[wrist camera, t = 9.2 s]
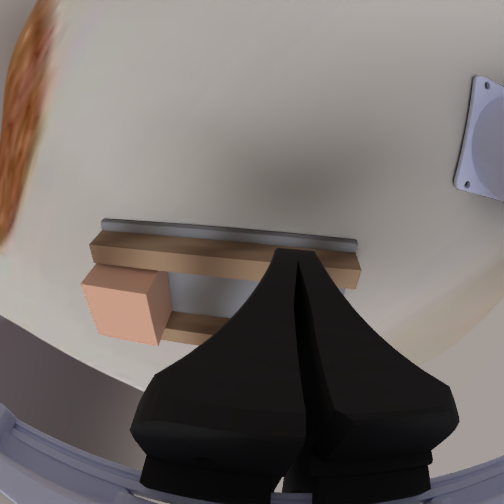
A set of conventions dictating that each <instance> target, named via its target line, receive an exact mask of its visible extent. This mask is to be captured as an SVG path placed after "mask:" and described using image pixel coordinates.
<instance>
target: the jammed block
mask: <svg viewBox="0 0 504 504" xmlns="http://www.w3.org/2000/svg"><path fill="white" fill-rule="evenodd" d="M81 286H82V289H83V292H84V295H85V298H86V300H87V303H88V306H89V309H90V311H91V314H92V317H93V319H94V322H95V324H96V327H97V329H98V332H99V334H101V335H105V336H110V337H114V338H119V339H123V340H128V341H133V342H138V343H143V344H149V345H154V346H158V345H159V343H160V340H161V337H162V335H163V332H164V330H165V327H166V325H167V322H168V319H169V317H170V314H171V312H172V302H171V296H170V289H169V282H168V274H167V272H166V271H158V270H149V269H141V268H133V267H125V266H117V265H109V264H101V263H96V265H95V266H94V267H93V268H92V270H91V271H90V272H89V274H88V275H87V276H86V278H85V279H84V280H83V282H82V283H81Z"/></svg>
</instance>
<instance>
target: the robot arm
mask: <svg viewBox="0 0 504 504" xmlns="http://www.w3.org/2000/svg"><path fill="white" fill-rule="evenodd" d="M485 82H486V84H487V88H485V85H484V84H485ZM466 181H468V183H467V185H466V186H464V185H465V182H466ZM454 185H455V187H456V188H457V189H459V190H462V191H466V192H470V193H474V194H478V195H482V196H486V197H489V198H493V199H497V200H500V201H503V202H504V87H503V86H501V85H499V84H497V83H495V82H493V81H491V80H489V79H487V78H485V77H483V76H479V75H477V76H475V77H474V79H473V86H472V94H471V101H470V108H469V114H468V120H467V126H466V131H465V136H464V141H463V145H462V150H461V154H460V159H459V163H458V167H457V171H456V175H455V179H454ZM458 423H459V416H458V412H457V408H456V404H455V401H454V398H453V395H452V392H451V390H450V387H449V386H448V385H446V384H444V383H443V382H441V381H439V380H438V379H436V378H435V377H433V376H431V375H430V374H428V373H427V372H425V371H423V370H422V369H420V368H419V367H418V366H416V365H415V364H414V363H412V362H411V361H410V360H408V359H407V358H405V357H404V356H403V355H402V354H400V353H399V352H398V351H397V350H395V349H394V348H393V347H392V346H391V345H390V344H388V343H387V342H386V341H385V340H384V339H383V338H382V337H381V336H379V335H378V334H377V333H376V332H375V331H374V330H373V329H372V328H371V327H370V326H369V325H368V324H367V323H366V322H365V320H364V319H363V318H362V317H361V316H360V315H359V314H358V313H357V312H356V311H355V310H354V308H353V307H352V306H351V305H350V303H349V302H348V301H347V299H346V298H345V297H344V296H343V294H342V293H341V291H340V290H339V289H338V287H337V286H336V284H335V283H334V281H333V280H332V279H331V277H330V276H329V274H328V272H327V271H326V269H325V268H324V266H323V264H322V263H321V261H320V260H319V258H318V256H317V254H316V253H315V252H314V251H309V250H298V249H286V248H277V249H275V250H274V255H273V258H272V260H271V262H270V265H269V267H268V269H267V270H266V272H265V274H264V276H263V277H262V279H261V281H260V282H259V284H258V285H257V287H256V288H255V289H254V291H253V292H252V294H251V295H250V296H249V298H248V299H247V300H246V302H245V303H244V304H243V305H242V306H241V308H240V309H239V310H238V311H237V312H236V313H235V314H234V315H233V316H232V317H231V318H230V319H229V320H228V321H227V322H226V323H225V324H224V325H223V326H222V327H221V328H220V329H219V330H218V331H217V332H216V333H215V334H213V335H212V336H211V337H210V338H209V339H207V340H206V341H205V342H203V343H202V344H201V345H200V346H198V347H197V348H196V349H194V350H193V351H192V352H190V353H189V354H188V355H186V356H185V357H183V358H182V359H180V360H178V361H177V362H175V363H173V364H172V365H170V366H169V367H167V368H165V369H164V370H162V371H160V372H159V373H157V374H155V375H154V377H153V378H152V380H151V382H150V383H149V385H148V387H147V388H146V390H145V392H144V394H143V396H142V398H141V400H140V402H139V404H138V407H137V410H136V413H135V416H134V419H133V422H132V425H131V428H130V431H131V434H132V436H133V438H134V439H135V441H136V442H137V443H138V444H139V446H140V447H141V448H142V450H143V451H144V452H145V453H146V454H147V456H146V459H145V463H144V467H143V470H142V471H140V470H137V469H134V468H130V467H127V466H124V465H121V464H118V463H115V462H112V461H109V460H106V459H103V458H101V457H98V456H95V455H93V454H90V453H87V452H85V451H82V450H80V449H78V448H75V447H73V446H70V445H68V444H66V443H64V442H61V441H59V440H57V439H55V438H53V437H51V436H49V435H46V434H45V433H42V432H41V431H38V430H36V429H35V428H33V427H31V426H29V425H27V424H25V423H23V422H22V421H20V420H18V419H16V417H15V416H14V415H13V413H12V412H11V411H10V410H8V409H7V408H6V407H5V406H4V405H3V404H1V403H0V492H2V493H3V494H4V495H5V496H7V497H8V498H9V499H10V500H12V501H13V502H14V503H15V504H157V503H154V502H151V501H148V500H145V499H142V498H139V497H136V496H134V494H136V495H140V496H143V497H147V498H150V499H154V500H158V501H161V502H165V503H170V504H421V503H422V504H504V456H501V457H499V458H496V459H494V460H491V461H488V462H485V463H482V464H480V465H477V466H474V467H471V468H467V469H464V470H461V471H458V472H454V473H451V474H447V475H443V476H439V477H436V478H431V479H430V477H429V470H428V465H429V464H431V463H432V461H433V458H432V452H431V450H432V449H433V448H435V447H436V446H437V445H439V444H440V443H441V442H442V441H444V440H445V439H446V438H447V437H448V436H449V435H450V434H451V433H452V432H453V431H454V430H455V429H456V427H457V425H458ZM282 477H284V481H283V488H282V493H275V492H274V490H275V488H276V486H277V484H278V483H279V481H280V480H281V478H282Z"/></svg>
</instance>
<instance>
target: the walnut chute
mask: <svg viewBox="0 0 504 504" xmlns="http://www.w3.org/2000/svg"><path fill="white" fill-rule="evenodd" d="M101 226H102V231H101V232H100V233H99V234H98V236H97V237H96V238H95V239H94V240H93V241H92V242H91V243H90V244H89V246H90V250H91V254H92V257H93V261H94V263H101V264H109V265H117V266H125V267H133V268H141V269H149V270H158V271H166V272H167V274H168V282H169V289H170V296H171V302H172V312H171V314H170V317H169V319H168V322H167V325H166V327H165V330H164V332H163V335H162V337H161V340H167V341H173V342H179V343H186V344H192V345H201V344H202V343H203V342H205V341H206V340H207V339H209V338H210V337H211V336H212V335H213V334H215V333H216V332H217V331H218V330H219V329H220V328H221V327H222V326H223V325H224V324H225V323H226V322H227V321H228V320H229V319H230V318H231V317H232V316H233V315H234V314H235V313H236V312H237V311H238V310H239V309H240V308H241V306H242V305H243V304H244V303H245V302H246V300H247V299H248V298H249V296H250V295H251V294H252V292H253V291H254V289H255V288H256V287H257V285H258V284H259V282H260V281H261V279H262V277H263V276H264V274H265V272H266V270H267V269H268V267H269V265H270V262H271V260H272V258H273V255H274V250H275V249H277V248H286V249H298V250H309V251H314V252H315V253H316V254H317V256H318V258H319V260H320V261H321V263H322V264H323V266H324V268H325V269H326V271H327V272H328V274H329V276H330V277H331V279H332V280H333V281H334V283H335V284H336V286H337V287H338V289H339V290H340V291H341V293H342V294H344V291H345V288H347V289H356V286H357V283H358V280H359V277H360V273H361V268H360V265H359V262H358V259H357V256H356V249H357V245H358V243H357V241H356V240H351V239H341V238H331V237H321V236H311V235H301V234H291V233H280V232H269V231H258V230H247V229H235V228H224V227H211V226H199V225H186V224H173V223H159V222H145V221H130V220H115V219H103V220H102V221H101Z"/></svg>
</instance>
